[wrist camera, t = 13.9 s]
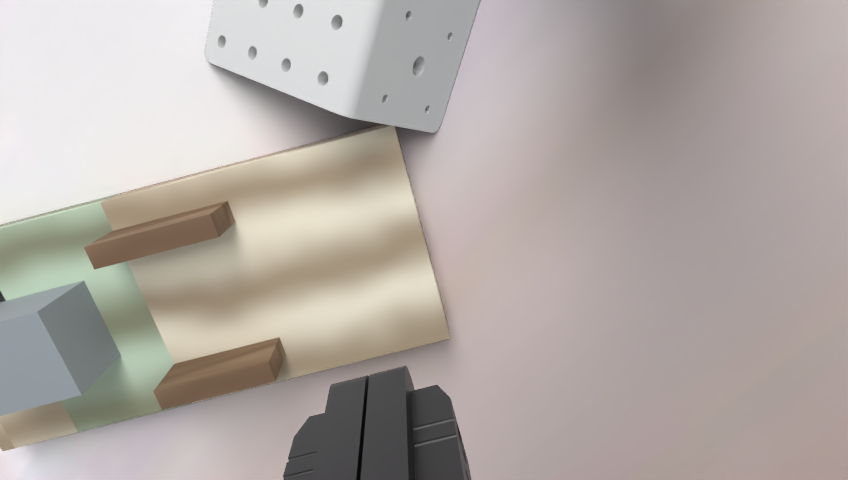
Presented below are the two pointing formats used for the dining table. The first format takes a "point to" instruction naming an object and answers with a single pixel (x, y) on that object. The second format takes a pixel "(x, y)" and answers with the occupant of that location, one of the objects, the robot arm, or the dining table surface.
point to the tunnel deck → (234, 278)
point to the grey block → (51, 347)
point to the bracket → (348, 53)
